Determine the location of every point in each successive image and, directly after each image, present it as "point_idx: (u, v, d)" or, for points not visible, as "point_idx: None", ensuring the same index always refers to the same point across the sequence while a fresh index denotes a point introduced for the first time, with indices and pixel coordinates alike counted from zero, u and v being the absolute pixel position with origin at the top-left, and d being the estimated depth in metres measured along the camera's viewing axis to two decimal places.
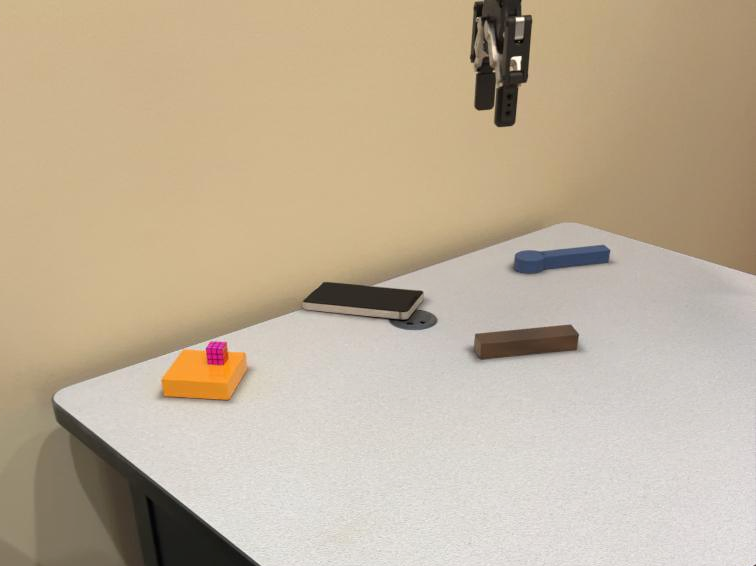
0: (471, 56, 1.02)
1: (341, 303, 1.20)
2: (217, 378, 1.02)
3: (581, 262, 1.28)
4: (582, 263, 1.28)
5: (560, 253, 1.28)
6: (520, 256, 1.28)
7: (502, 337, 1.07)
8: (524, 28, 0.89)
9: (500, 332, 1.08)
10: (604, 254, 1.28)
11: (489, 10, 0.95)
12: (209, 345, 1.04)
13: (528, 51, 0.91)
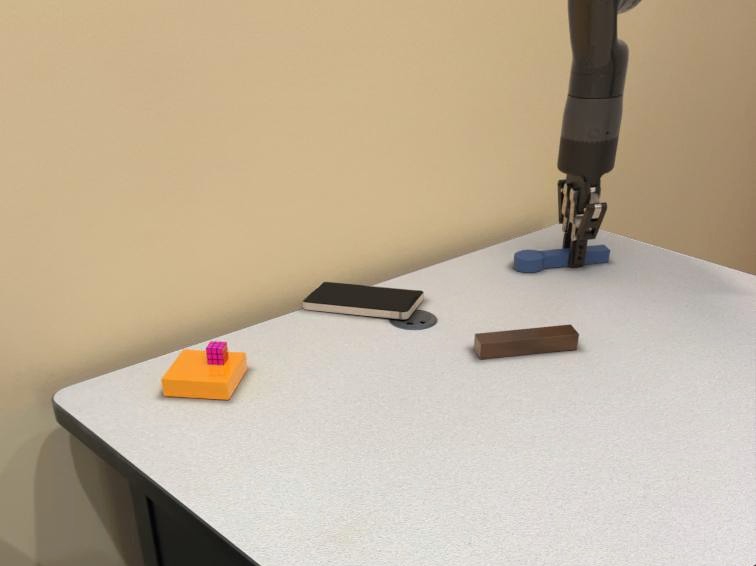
0: (559, 218, 1.29)
1: (341, 303, 1.20)
2: (217, 378, 1.02)
3: None
4: None
5: (559, 253, 1.28)
6: (519, 255, 1.28)
7: (502, 337, 1.07)
8: (599, 212, 1.19)
9: (500, 332, 1.08)
10: (604, 254, 1.28)
11: (573, 179, 1.23)
12: (209, 345, 1.04)
13: (599, 225, 1.21)
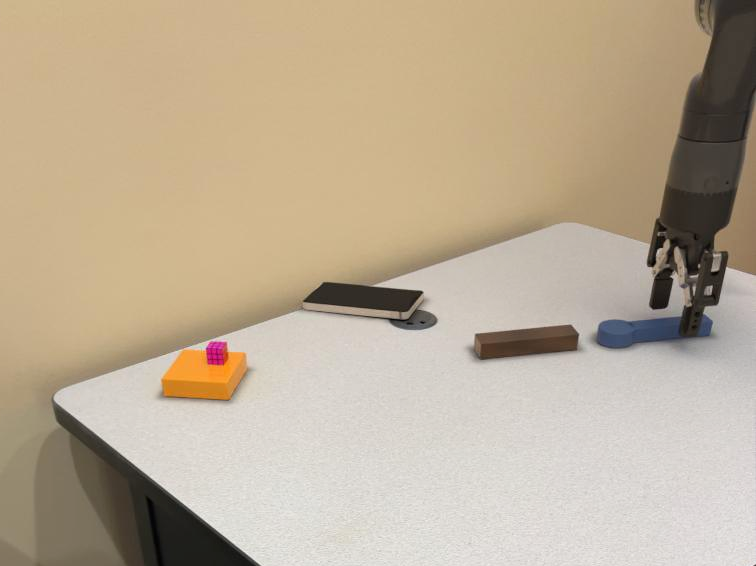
0: (648, 262, 1.10)
1: (341, 303, 1.20)
2: (217, 378, 1.02)
3: (677, 335, 1.08)
4: (678, 336, 1.09)
5: (653, 325, 1.08)
6: (604, 327, 1.08)
7: (502, 337, 1.07)
8: (720, 262, 0.97)
9: (500, 332, 1.08)
10: (705, 326, 1.08)
11: (678, 234, 1.02)
12: (209, 345, 1.04)
13: (722, 281, 0.98)
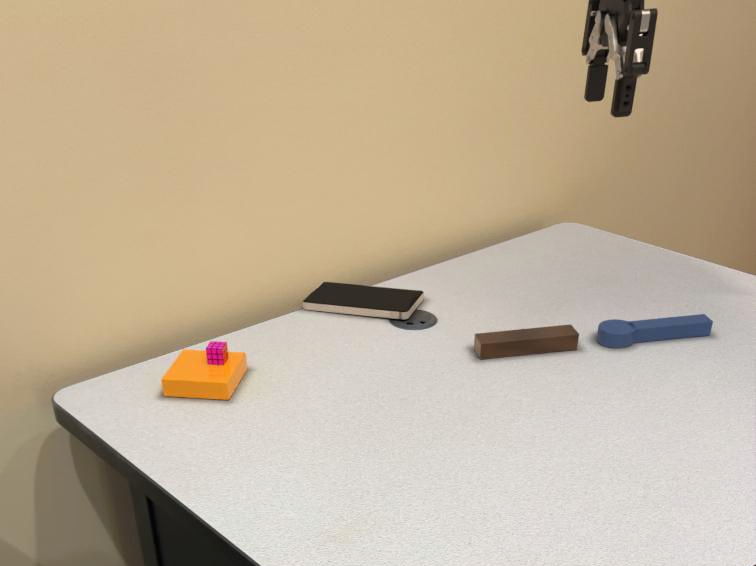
0: (583, 49, 1.05)
1: (341, 303, 1.20)
2: (217, 378, 1.02)
3: (677, 335, 1.08)
4: (678, 336, 1.09)
5: (653, 325, 1.08)
6: (604, 327, 1.08)
7: (502, 337, 1.07)
8: (649, 21, 0.93)
9: (500, 332, 1.08)
10: (705, 326, 1.08)
11: (609, 4, 0.98)
12: (209, 345, 1.04)
13: (652, 43, 0.94)
